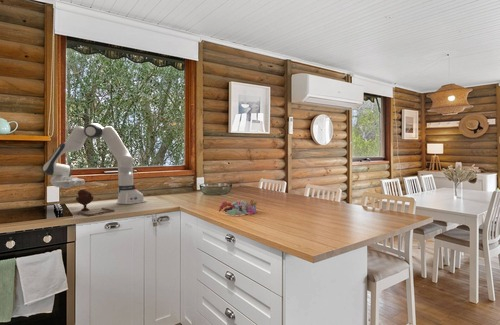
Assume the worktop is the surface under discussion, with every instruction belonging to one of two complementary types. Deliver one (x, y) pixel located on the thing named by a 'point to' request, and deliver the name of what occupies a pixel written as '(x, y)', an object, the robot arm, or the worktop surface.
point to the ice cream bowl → (84, 199)
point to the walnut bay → (97, 213)
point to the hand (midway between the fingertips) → (75, 183)
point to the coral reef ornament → (239, 207)
